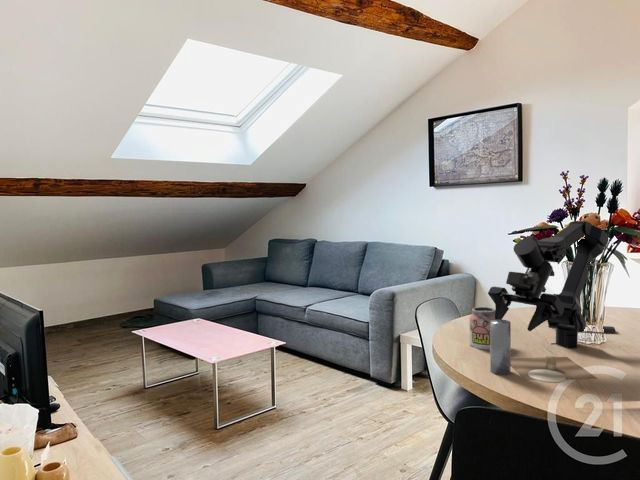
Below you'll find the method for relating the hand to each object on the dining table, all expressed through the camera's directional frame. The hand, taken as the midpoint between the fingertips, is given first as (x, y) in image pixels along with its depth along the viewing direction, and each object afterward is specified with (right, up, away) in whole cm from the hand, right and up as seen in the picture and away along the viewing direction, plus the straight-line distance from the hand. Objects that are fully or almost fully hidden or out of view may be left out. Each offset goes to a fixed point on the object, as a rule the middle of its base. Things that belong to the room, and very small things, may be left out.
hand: (511, 326), depth 126 cm
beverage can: (0, -10, +20) cm, 22 cm away
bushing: (-4, -12, -2) cm, 13 cm away
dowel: (+9, -10, -1) cm, 14 cm away
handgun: (+38, -8, +39) cm, 55 cm away
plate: (+9, -11, -1) cm, 15 cm away
